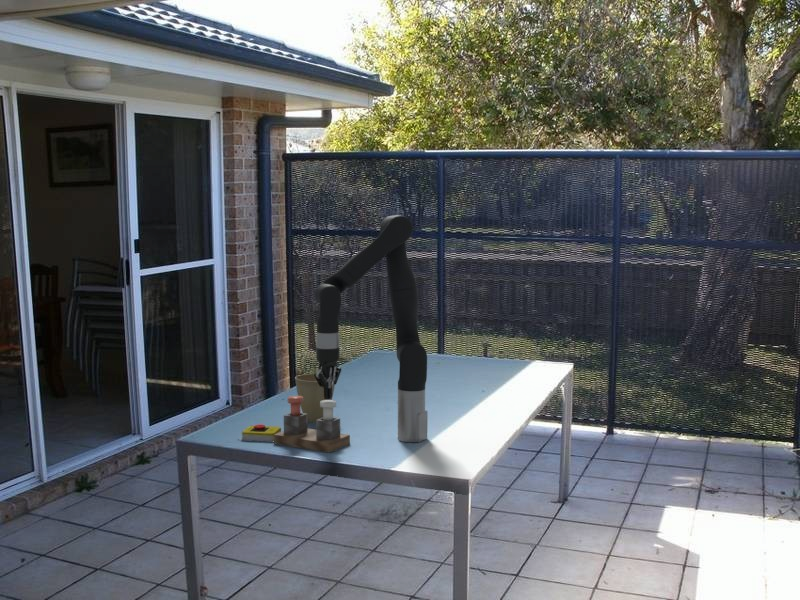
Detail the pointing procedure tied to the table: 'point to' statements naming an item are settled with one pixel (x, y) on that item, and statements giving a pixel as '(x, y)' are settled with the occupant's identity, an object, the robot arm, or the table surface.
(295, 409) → the red plunger
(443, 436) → the table surface
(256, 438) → the emergency button
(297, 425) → the press board
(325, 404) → the white plunger
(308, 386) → the plant pot
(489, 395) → the table surface
